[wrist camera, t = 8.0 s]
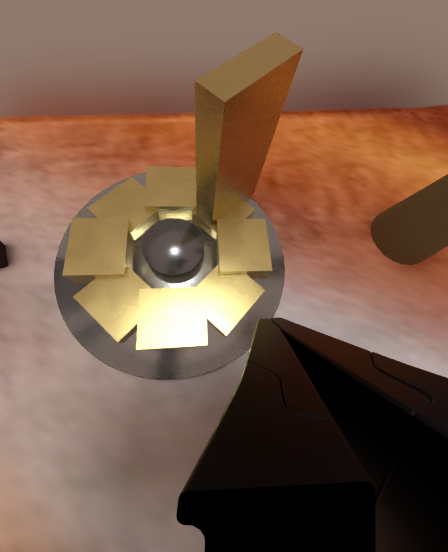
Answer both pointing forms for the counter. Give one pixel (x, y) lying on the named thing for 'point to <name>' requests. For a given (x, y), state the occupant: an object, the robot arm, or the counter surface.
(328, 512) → the robot arm
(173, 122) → the counter surface
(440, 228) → the olive pepper mill
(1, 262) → the adjustable wrench
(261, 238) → the tan block ring
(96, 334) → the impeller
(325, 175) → the counter surface
